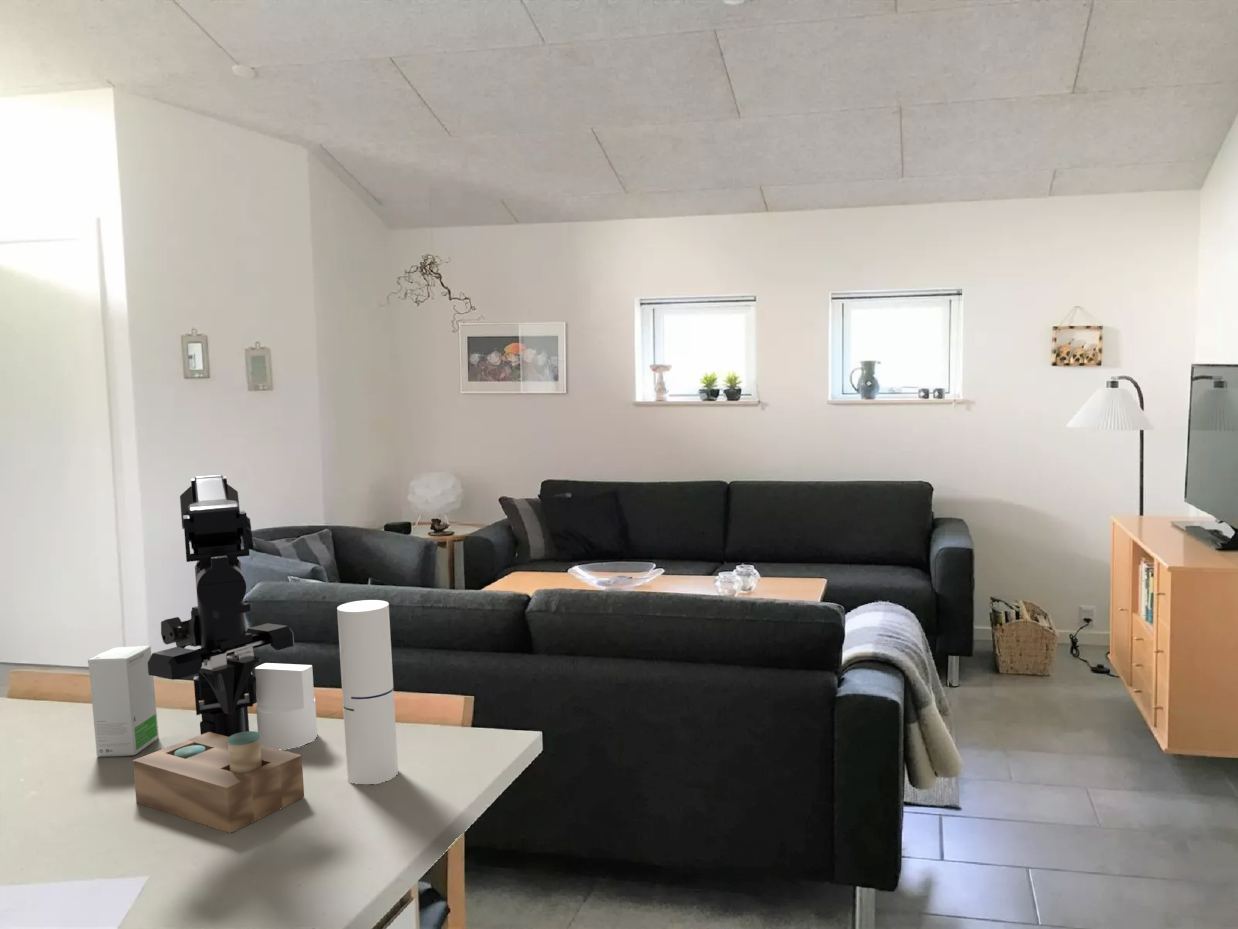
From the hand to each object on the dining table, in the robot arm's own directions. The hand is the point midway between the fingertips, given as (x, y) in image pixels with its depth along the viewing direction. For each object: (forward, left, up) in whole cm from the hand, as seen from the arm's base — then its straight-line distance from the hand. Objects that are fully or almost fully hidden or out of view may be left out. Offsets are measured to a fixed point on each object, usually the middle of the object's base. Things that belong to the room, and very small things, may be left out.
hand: (228, 712), depth 133 cm
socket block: (-1, -4, -13) cm, 14 cm away
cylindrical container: (-17, +9, -13) cm, 23 cm away
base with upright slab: (-21, -14, -13) cm, 28 cm away
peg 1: (-1, -10, -13) cm, 16 cm away
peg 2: (-1, +2, -9) cm, 9 cm away
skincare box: (-7, -35, -13) cm, 38 cm away
